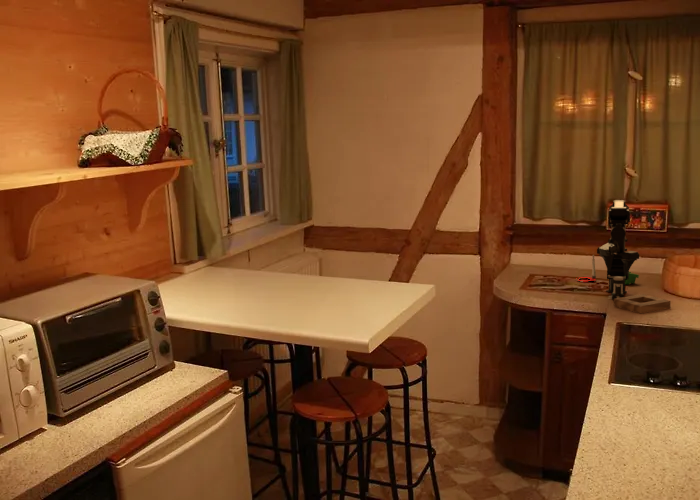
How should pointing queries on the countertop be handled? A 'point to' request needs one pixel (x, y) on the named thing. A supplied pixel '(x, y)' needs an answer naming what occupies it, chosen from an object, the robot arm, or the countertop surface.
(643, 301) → the holder block
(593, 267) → the red grey looped piece
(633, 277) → the clamp
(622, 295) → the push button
